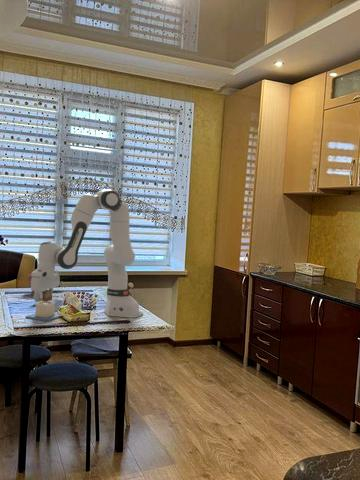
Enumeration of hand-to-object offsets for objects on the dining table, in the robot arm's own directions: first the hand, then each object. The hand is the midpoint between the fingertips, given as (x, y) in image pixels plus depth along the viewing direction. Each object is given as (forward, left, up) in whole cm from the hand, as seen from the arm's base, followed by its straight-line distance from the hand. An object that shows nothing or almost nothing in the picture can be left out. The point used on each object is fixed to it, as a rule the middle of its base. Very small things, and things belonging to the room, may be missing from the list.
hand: (45, 297), depth 239 cm
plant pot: (+41, -47, -11) cm, 63 cm away
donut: (+21, -24, -11) cm, 34 cm away
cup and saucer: (0, 0, -11) cm, 11 cm away
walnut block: (0, 0, -2) cm, 2 cm away
